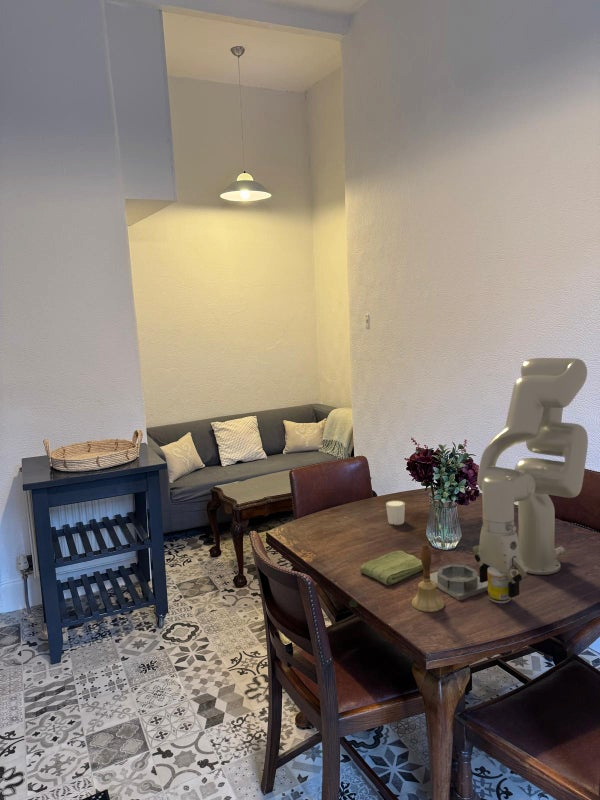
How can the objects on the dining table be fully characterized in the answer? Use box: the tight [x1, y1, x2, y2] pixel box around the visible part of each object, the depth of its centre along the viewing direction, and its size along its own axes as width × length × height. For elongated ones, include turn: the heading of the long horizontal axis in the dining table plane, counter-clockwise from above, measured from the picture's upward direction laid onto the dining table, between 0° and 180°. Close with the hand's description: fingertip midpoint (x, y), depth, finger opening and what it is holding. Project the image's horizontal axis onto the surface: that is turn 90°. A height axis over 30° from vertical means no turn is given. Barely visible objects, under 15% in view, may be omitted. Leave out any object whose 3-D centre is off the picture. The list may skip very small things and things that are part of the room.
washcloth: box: [359, 550, 423, 586], centre depth 166 cm, size 13×18×3 cm
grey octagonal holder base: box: [430, 564, 488, 601], centre depth 155 cm, size 12×14×3 cm
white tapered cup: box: [385, 500, 406, 526], centre depth 204 cm, size 7×7×7 cm
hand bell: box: [411, 543, 446, 613], centre depth 145 cm, size 8×8×16 cm
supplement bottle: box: [487, 566, 512, 604], centre depth 146 cm, size 6×6×10 cm
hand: (498, 588), depth 146 cm, fingers open, 9 cm apart
